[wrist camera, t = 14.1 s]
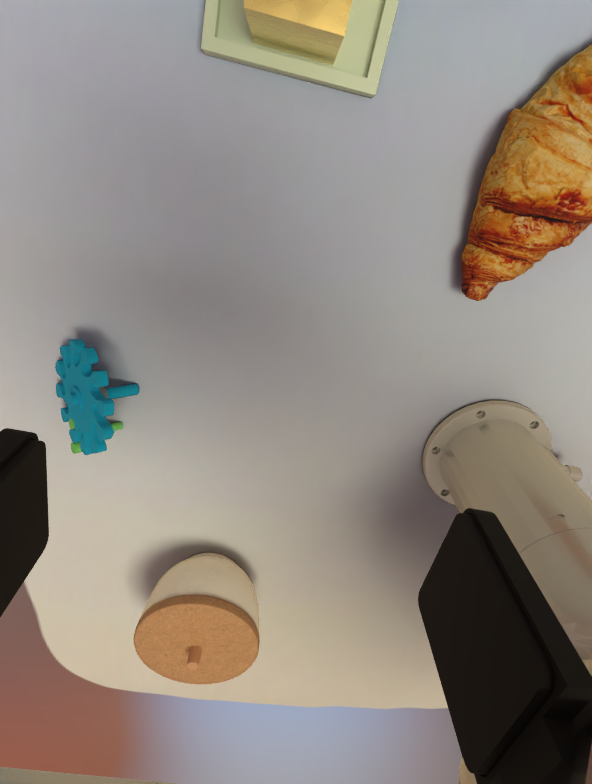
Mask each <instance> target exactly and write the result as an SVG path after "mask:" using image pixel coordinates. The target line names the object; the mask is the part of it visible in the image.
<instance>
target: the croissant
mask: <svg viewBox="0 0 592 784" xmlns="http://www.w3.org/2000/svg"><path fill="white" fill-rule="evenodd" d="M591 223H592V44H591V45H589V46H588V47H587V48H585V50H584V51H581V52H579V53H577V54H575V55H574V56H573V57H572V58H571V59H570V60H569V61H568V62H567V63H566V64H565V65H563V66H561V67H560V68H559V69H558V70H557V71H556V72H555V73H554V74H553V75H552V76H551V77H550V78H549V80H548V81H547V82H546V83H545V84H544V85H543V86H542V87H541V89H540V90H539V91H538V92H536V93H535V94H534V95H533V97H532V98H531V99H530V100H529V101H528V102H527V104H525V105H524V106H523V107H522V108H521V109H518V108H517V109H514V110H513V111H512V112H510V114H509V117H508V120H507V123H506V125H505V128H504V130H503V132H502V134H501V136H500V139H499V142H498V145H497V148H496V153H495V154H494V155H493V156H492V157H491V159H490V161H489V163H488V165H487V168H486V170H485V174H484V177H483V180H482V183H481V186H480V190H479V194H478V201H477V205H476V207H475V210H474V212H473V218H472V222H471V225H470V230H469V235H468V244H467V245H466V246H465V248H464V251H463V254H462V277H463V283H462V292H463V293H464V294H465V295H466V297H468V298H469V299H473V300H476V301H479V300H482V299H486V298H487V296H488V294H489V293H490V292H491V290H492V289H493V288H494V287H495V286H496V285H497V283H498V282H504V281H509V280H513V279H515V278H516V277H517V276H519V275H521V274H524V273H525V272H526V271H527V270H528V269H530V268H532V267H533V265H534V263H535V262H538V261H540V260H541V259H542V258H543V257H544V256H545V255H546V254H547V253H548V252H549V251H552V250H555V249H557V248H560V247H562V246H563V247H565V246H567V245H568V246H569V245H570V244H571V243H572V242H573V241H574V239H575V238H576V237H577V236H578V235H579V234H580V233H581V232H582V231H583V230H585V229H586V228H587V226H588V225H590V224H591Z"/></svg>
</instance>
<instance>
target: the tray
mask: <svg viewBox="0 0 592 784" xmlns="http://www.w3.org/2000/svg"><path fill="white" fill-rule="evenodd" d="M398 2H399V0H352V4H351V8H350V13H349V18H348V22H347V27H346V31H345V36H344V39H343V41H342V44H341V46H340V49H339V52H338V54H337V57H336V59H335V62H334V64H333V65H329V64H325V63H322V62H318V61H315V60H311V59H307V58H304V57H300V56H297V55H293V54H289V53H286V52H282V51H279V50H275V49H272V48H268V47H264V46H261V45H257V44H254V41H253V38H252V34H251V31H250V28H249V24H248V21H247V17H246V14H245V11H244V0H206V3H205V12H204V22H203V32H202V42H201V49H202V51H203V52H204V53H205V54H206V55H210V56H214V57H217V58H221V59H225V60H229V61H232V62H236V63H240V64H244V65H248V66H251V67H255V68H259V69H263V70H266V71H270V72H274V73H278V74H281V75H285V76H289V77H293V78H297V79H300V80H304V81H308V82H312V83H315V84H319V85H323V86H327V87H330V88H334V89H338V90H342V91H346V92H349V93H353V94H357V95H361V96H364V97H368V98H373V97H374V96H375V94H376V90H377V86H378V82H379V78H380V74H381V70H382V66H383V62H384V58H385V54H386V50H387V46H388V42H389V38H390V34H391V30H392V26H393V22H394V18H395V14H396V10H397V6H398Z"/></svg>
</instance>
